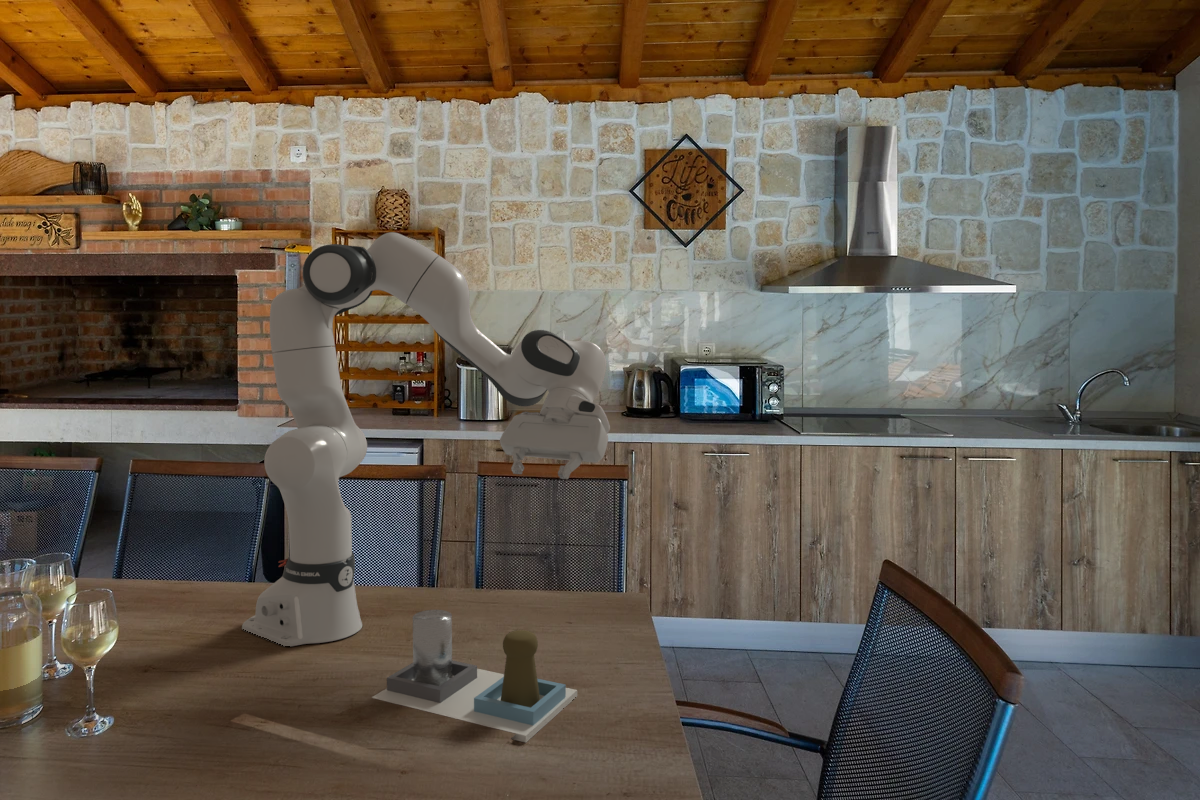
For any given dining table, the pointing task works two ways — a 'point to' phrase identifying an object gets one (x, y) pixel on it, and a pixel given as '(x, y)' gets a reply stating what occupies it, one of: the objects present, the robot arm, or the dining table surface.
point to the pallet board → (478, 699)
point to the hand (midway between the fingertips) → (538, 474)
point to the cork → (520, 669)
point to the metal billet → (432, 647)
